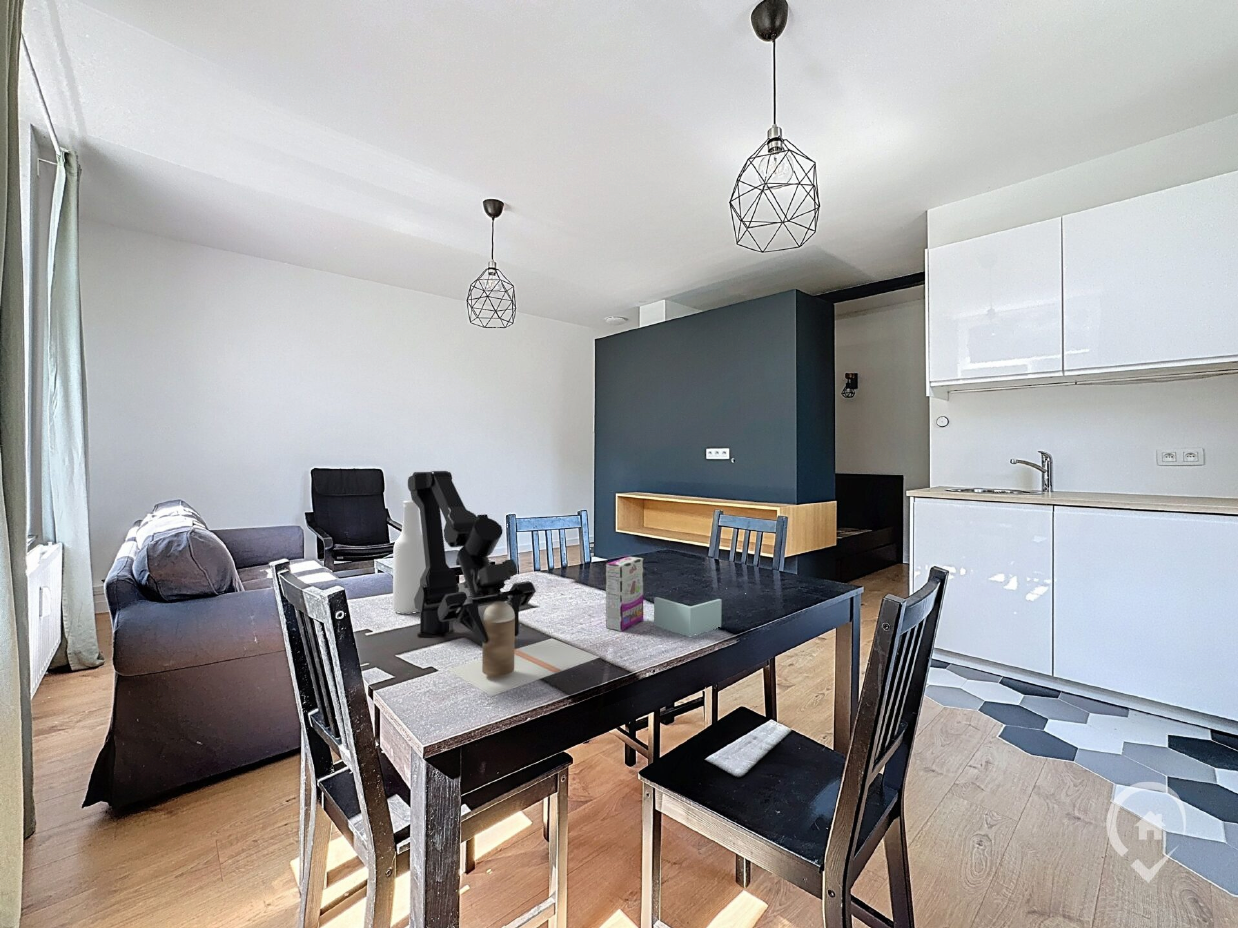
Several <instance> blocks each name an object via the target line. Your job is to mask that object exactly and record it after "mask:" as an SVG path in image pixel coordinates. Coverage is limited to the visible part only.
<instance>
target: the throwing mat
mask: <svg viewBox="0 0 1238 928" xmlns="http://www.w3.org/2000/svg"><path fill="white" fill-rule="evenodd" d="M598 658H599V659H600V658H601V657H600V656H599V655H595V654H592V653H590V652H588V651H585V650H582V649H580V648H577V647H575V646H573V645H570V644H567V643H565V642H563V641H560V640H557V639H554V638H549V639H545V640H541V641H537V642H536V643H532V644H528V645H525V646H521V647H518V648H515V655H514V671H513V672H511V673H509V674H506V675H501V676H490V675H486V674H484V673H483V672H482V658H481V659H479V660H475V661H471V662H468V663H465V664H461V665H458V666H455V667H451V668H448V669H446V670H447V671H448V672H450V673H452V674H453V675H455V676H457V677H458V678H460V679H462V680H463V681H465V682H467V683H469V684H471V686H474V687H476V688H477V689H478V690H481V691H482V692H484V693H485V694H487V695H489V696H490V697H494V696H496V695H499V694H502V693H504V692H508V691H509V690H510V691H511V690H514V689H515V688H518V687H521V686H524V685H527V684H529V683H532V682H535V681H538V680H541V679H543V678H545V677H550V676H553V675H554V674H558V673H560V672H563V671H567V670H569V669H572V668H575V667H577V666H579V665H582V664H585V663H588V662H591V661H594V660H596V659H598Z"/></svg>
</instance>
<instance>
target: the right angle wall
mask: <svg viewBox="0 0 1238 928" xmlns="http://www.w3.org/2000/svg"><path fill="white" fill-rule="evenodd" d="M653 601H654V602H653V625H654V626H656V627H659V628H661V629H664V630H667V631H670V630H671V631H670V632H673V631H674V632H673V633H676V632H677V633H676V634H678V633H680V634H679V635H681V634H684V635H686V636H685V637H687V636H693V635H695V634H699V635H701V634H700V633H702V632H705V633H707V632H706V631H708V632H710V631H709V630H711V631H714V630H716V628H717V629H719V628H718V627H720V628H722V607H723V606H722V604H723V603H722V602H723V601H722V599H720V598H717V599H714V600H709V601H706V602H702V603H698V604H694V605H692V606H690V605H686V604H683V603H679V602H676V601H673V600H670V599H666V598H661V597H659V596H656V597H653ZM713 629H714V630H713ZM702 634H703V633H702ZM684 635H683V636H684ZM693 637H694V636H693Z"/></svg>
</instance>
